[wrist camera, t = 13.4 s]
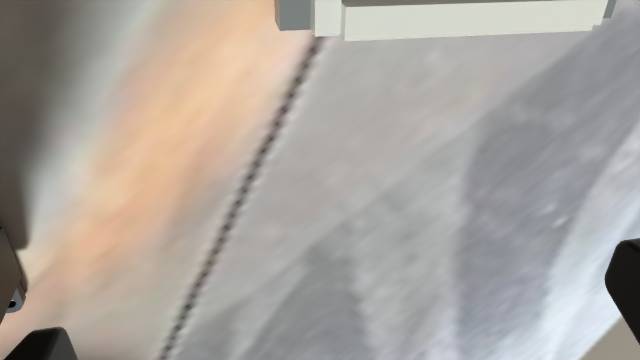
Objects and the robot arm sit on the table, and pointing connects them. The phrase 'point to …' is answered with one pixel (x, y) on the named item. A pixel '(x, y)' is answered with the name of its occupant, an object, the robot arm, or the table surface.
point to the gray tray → (438, 17)
